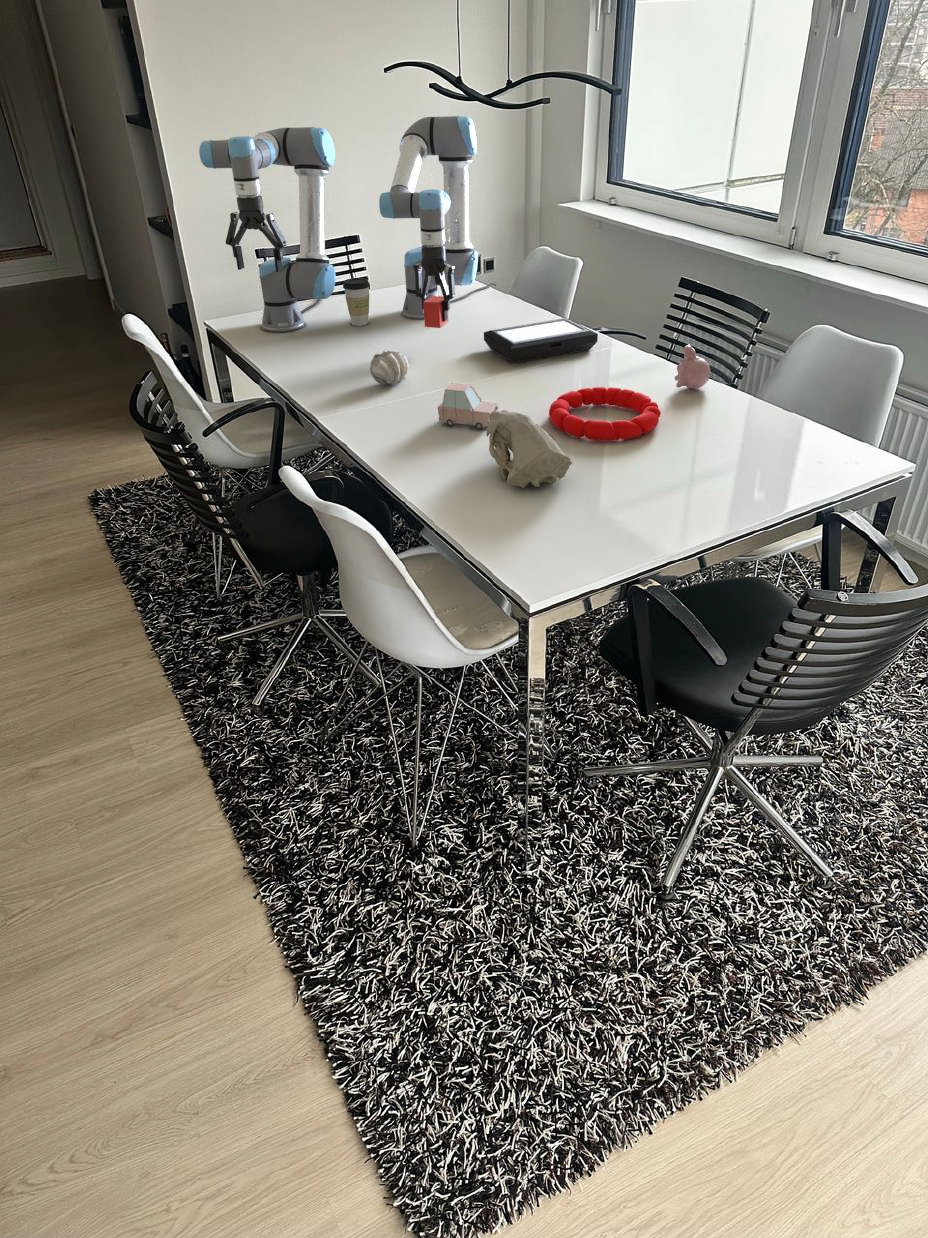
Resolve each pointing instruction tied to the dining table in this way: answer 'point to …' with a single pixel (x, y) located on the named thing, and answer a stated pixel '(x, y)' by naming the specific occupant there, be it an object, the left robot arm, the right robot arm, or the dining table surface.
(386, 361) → the seashell
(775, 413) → the dining table surface
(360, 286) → the coffee cup
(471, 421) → the toy car
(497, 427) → the animal skull
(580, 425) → the decorative ring
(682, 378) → the figurine
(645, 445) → the dining table surface
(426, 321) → the block
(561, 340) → the electronic device
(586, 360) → the dining table surface
